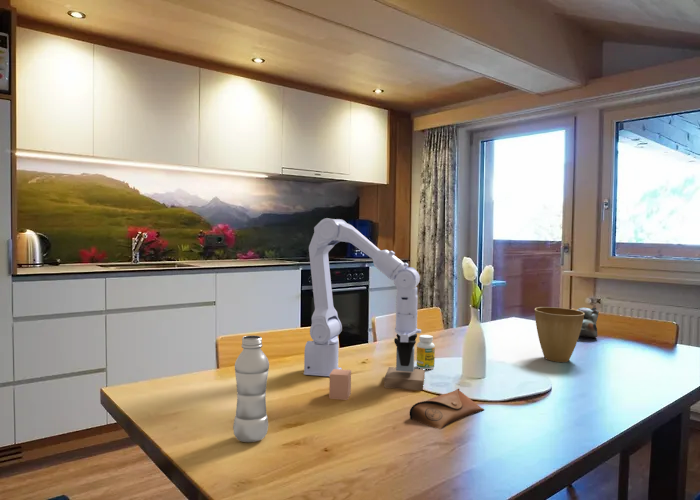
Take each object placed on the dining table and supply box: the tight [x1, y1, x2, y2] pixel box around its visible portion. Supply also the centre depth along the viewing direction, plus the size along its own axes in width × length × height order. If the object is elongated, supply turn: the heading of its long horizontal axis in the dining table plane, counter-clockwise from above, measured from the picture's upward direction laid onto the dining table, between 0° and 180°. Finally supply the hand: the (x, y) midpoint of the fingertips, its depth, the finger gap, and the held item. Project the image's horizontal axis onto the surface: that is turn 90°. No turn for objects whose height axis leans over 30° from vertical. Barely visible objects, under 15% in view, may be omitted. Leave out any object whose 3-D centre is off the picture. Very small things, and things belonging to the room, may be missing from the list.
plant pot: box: [534, 306, 584, 363], centre depth 157 cm, size 15×15×16 cm
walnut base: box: [383, 366, 426, 391], centre depth 130 cm, size 10×10×3 cm
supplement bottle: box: [416, 334, 436, 371], centre depth 145 cm, size 5×5×10 cm
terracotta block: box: [328, 369, 352, 401], centre depth 119 cm, size 4×4×6 cm
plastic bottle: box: [232, 335, 270, 443], centre depth 94 cm, size 6×7×20 cm
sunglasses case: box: [409, 388, 485, 430], centre depth 109 cm, size 18×7×7 cm, turn 133°
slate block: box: [395, 346, 415, 372], centre depth 130 cm, size 4×4×6 cm
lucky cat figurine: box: [576, 307, 600, 339], centre depth 193 cm, size 15×12×14 cm
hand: (405, 363), depth 130 cm, fingers closed on slate block, 4 cm apart
